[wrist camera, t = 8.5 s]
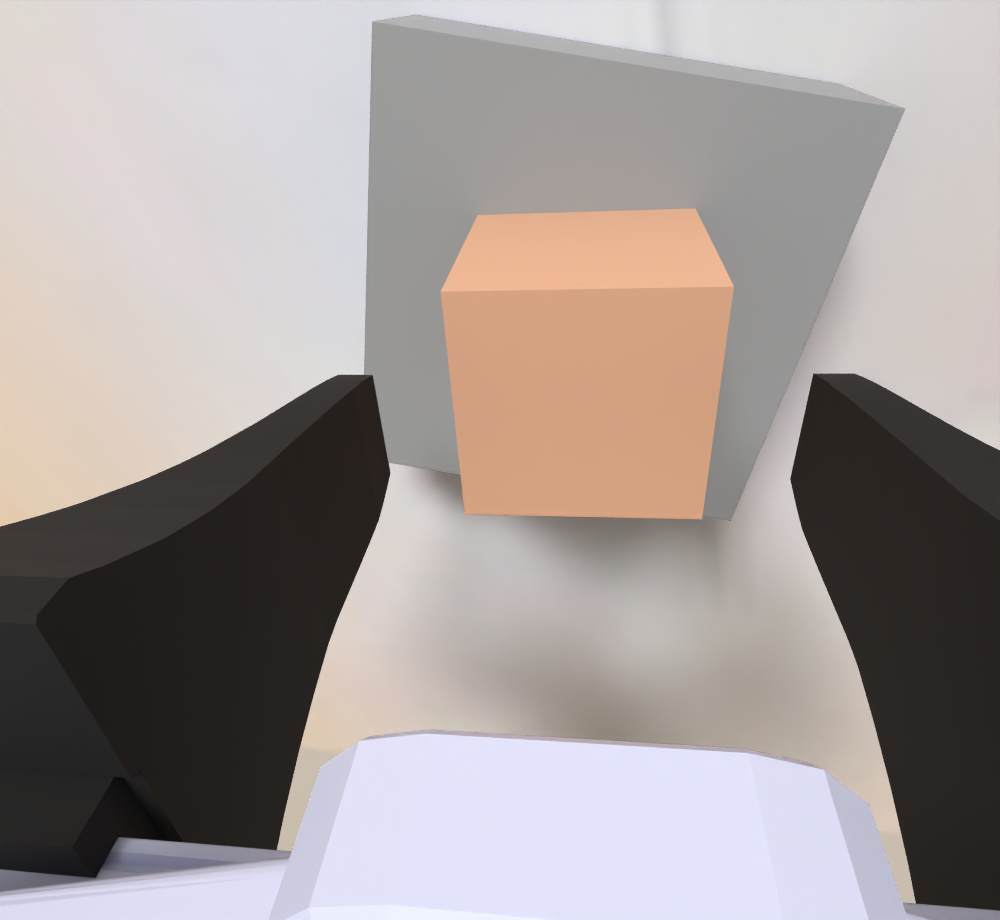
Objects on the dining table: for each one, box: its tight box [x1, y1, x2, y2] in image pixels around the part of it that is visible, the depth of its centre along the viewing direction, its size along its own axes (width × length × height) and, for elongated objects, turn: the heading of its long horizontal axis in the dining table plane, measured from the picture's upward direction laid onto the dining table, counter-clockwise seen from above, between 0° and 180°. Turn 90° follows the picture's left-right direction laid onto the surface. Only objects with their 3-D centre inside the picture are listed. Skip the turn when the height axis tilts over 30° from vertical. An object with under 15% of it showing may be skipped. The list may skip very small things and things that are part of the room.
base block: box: [364, 15, 905, 521], centre depth 17 cm, size 10×10×4 cm
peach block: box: [441, 209, 734, 519], centre depth 14 cm, size 4×4×4 cm
